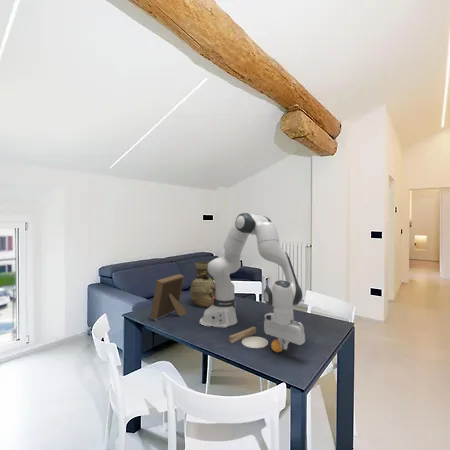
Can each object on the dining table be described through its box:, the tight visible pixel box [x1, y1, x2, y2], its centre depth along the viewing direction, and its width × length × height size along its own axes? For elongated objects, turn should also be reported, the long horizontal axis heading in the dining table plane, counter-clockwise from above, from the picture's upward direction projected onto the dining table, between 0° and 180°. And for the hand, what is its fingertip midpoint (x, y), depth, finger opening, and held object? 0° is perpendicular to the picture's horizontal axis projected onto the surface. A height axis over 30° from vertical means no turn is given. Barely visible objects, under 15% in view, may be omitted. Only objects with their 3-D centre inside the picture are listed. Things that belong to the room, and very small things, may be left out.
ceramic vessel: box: [189, 261, 216, 309], centre depth 207 cm, size 19×21×30 cm
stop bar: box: [228, 326, 257, 344], centre depth 149 cm, size 2×18×3 cm, turn 133°
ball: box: [270, 338, 284, 353], centre depth 133 cm, size 6×6×6 cm
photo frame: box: [149, 273, 186, 319], centre depth 182 cm, size 15×22×25 cm
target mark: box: [241, 336, 269, 349], centre depth 143 cm, size 13×13×1 cm
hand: (284, 348), depth 130 cm, fingers closed
